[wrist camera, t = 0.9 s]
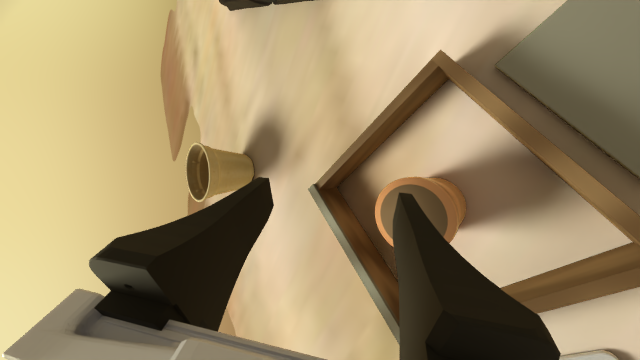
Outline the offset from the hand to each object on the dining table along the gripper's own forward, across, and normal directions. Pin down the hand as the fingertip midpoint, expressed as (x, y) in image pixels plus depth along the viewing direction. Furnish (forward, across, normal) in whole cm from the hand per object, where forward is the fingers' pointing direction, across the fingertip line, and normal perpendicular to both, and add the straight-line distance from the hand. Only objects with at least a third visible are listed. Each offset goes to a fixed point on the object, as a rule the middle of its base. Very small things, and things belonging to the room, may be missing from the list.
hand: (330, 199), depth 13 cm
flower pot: (+22, +20, +14) cm, 33 cm away
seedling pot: (+8, -8, +6) cm, 13 cm away
